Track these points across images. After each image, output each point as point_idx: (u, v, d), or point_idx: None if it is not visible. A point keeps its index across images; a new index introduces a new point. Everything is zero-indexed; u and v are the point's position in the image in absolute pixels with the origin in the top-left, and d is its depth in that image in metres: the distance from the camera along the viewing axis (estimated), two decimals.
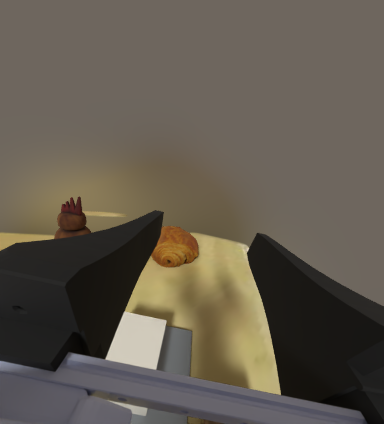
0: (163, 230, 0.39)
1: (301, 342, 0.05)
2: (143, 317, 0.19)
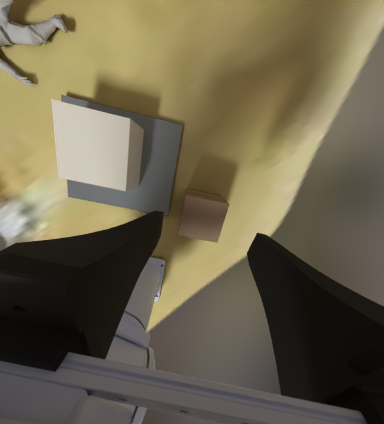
0: None
1: (301, 342, 0.05)
2: (93, 112, 0.12)
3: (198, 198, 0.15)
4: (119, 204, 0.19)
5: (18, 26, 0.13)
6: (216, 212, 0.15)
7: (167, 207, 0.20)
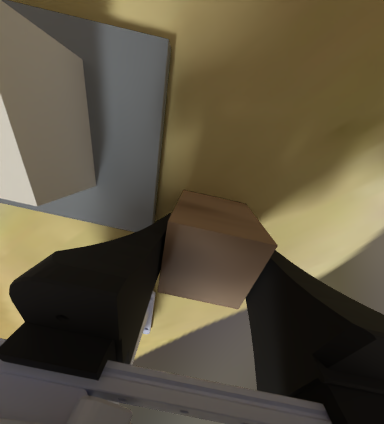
0: None
1: (275, 337, 0.05)
2: None
3: (200, 229, 0.06)
4: (71, 215, 0.12)
5: None
6: (241, 260, 0.07)
7: (150, 222, 0.11)
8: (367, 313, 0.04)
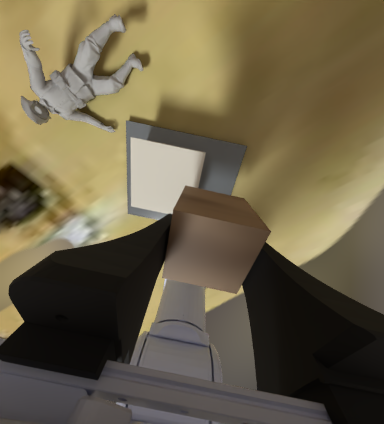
0: None
1: (276, 337, 0.05)
2: (169, 148, 0.12)
3: (201, 217, 0.07)
4: None
5: (102, 79, 0.13)
6: (239, 245, 0.07)
7: None
8: (367, 313, 0.04)
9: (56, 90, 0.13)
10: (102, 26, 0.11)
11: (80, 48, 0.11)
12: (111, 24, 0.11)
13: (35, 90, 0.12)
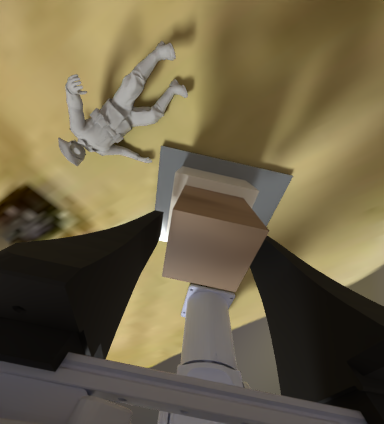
0: None
1: (301, 342, 0.05)
2: (218, 184, 0.11)
3: (201, 216, 0.07)
4: None
5: (142, 111, 0.12)
6: (237, 244, 0.07)
7: None
8: None
9: (96, 129, 0.11)
10: (149, 56, 0.10)
11: (124, 82, 0.10)
12: (159, 53, 0.10)
13: (75, 132, 0.11)
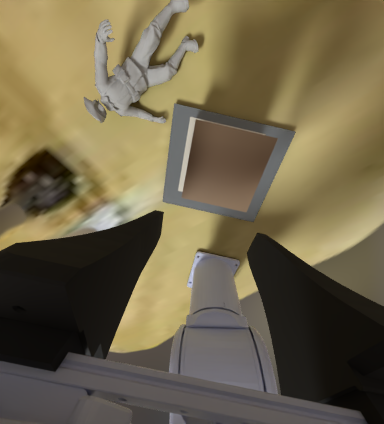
0: None
1: (301, 342, 0.05)
2: None
3: (219, 126, 0.08)
4: (209, 210, 0.20)
5: (157, 68, 0.13)
6: (250, 156, 0.09)
7: (255, 214, 0.20)
8: None
9: (118, 84, 0.13)
10: (165, 9, 0.11)
11: (143, 36, 0.11)
12: (173, 5, 0.11)
13: (100, 87, 0.13)
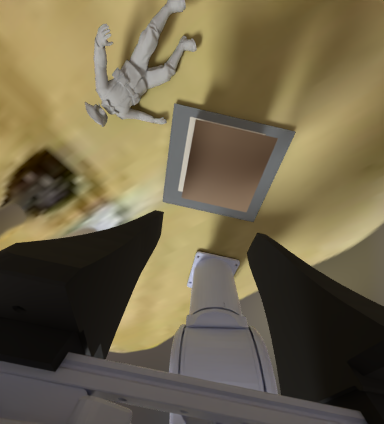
0: None
1: (301, 342, 0.05)
2: None
3: (219, 126, 0.08)
4: (209, 210, 0.20)
5: (156, 69, 0.13)
6: (250, 156, 0.09)
7: (255, 214, 0.20)
8: None
9: (118, 88, 0.13)
10: (162, 10, 0.11)
11: (141, 38, 0.11)
12: (170, 5, 0.11)
13: (100, 91, 0.13)
